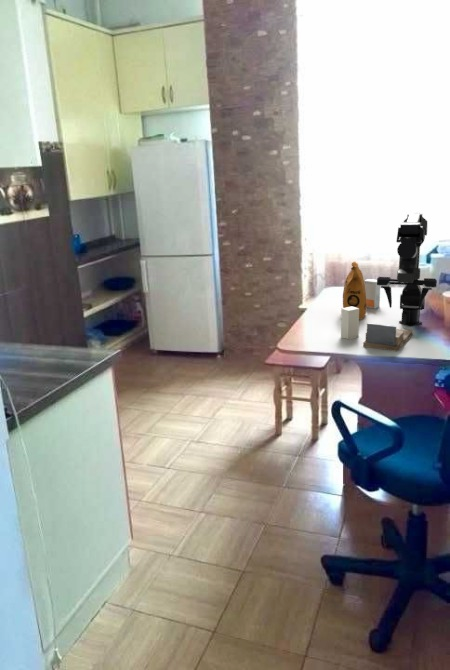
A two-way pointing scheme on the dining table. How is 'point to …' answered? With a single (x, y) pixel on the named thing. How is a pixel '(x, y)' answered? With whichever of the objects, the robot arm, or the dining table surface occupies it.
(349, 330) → the white rectangular block
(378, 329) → the bookend
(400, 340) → the shelf plank
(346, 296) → the coffee package
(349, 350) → the dining table surface
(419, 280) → the robot arm
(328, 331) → the dining table surface
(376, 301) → the skincare box
